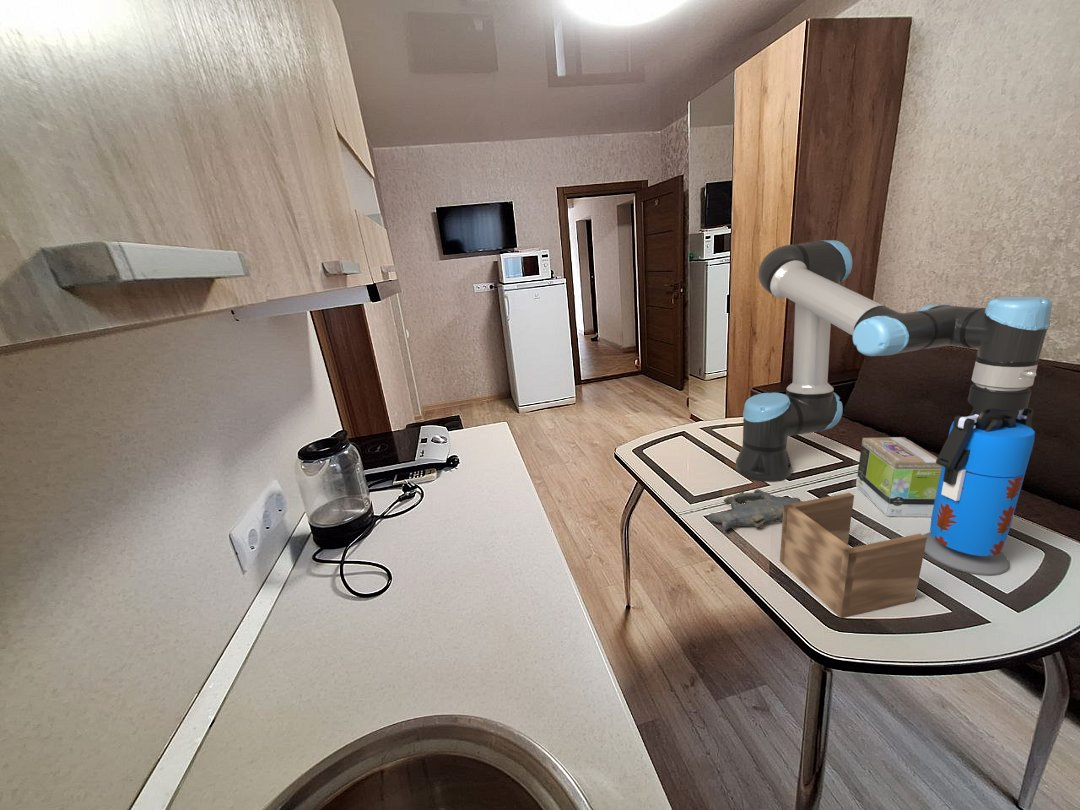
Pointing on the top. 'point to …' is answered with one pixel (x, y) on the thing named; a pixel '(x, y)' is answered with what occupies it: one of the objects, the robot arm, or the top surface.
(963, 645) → the top surface
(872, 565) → the walnut cubby
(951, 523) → the thermos
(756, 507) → the stone fish figurine
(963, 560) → the coaster
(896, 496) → the tea box
